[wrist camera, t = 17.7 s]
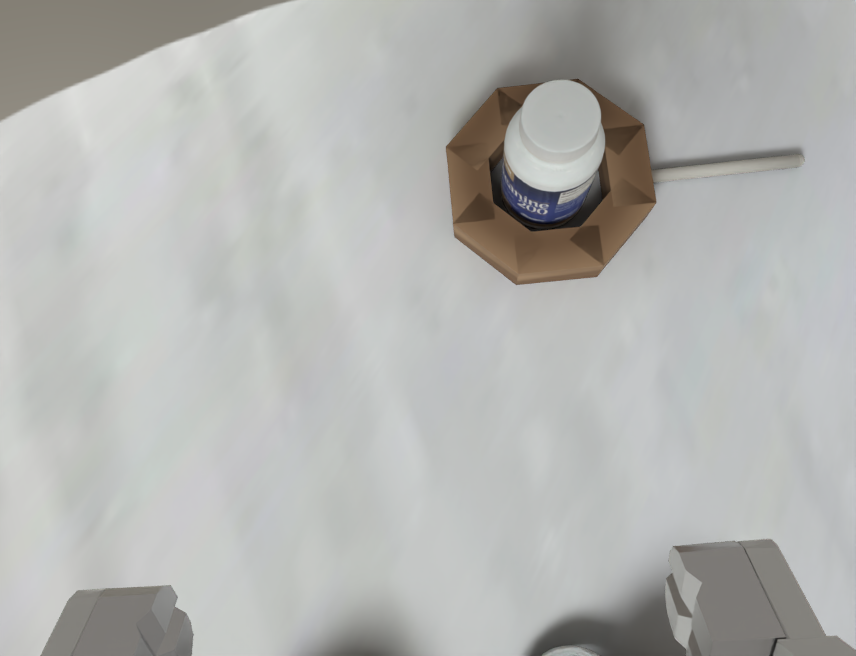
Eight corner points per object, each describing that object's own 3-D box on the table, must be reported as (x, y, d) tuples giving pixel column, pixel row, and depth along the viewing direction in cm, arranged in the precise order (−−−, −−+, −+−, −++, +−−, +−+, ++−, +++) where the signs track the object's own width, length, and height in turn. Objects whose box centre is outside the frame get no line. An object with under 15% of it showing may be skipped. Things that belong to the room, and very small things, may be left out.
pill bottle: (483, 186, 43) (484, 109, 34) (547, 136, 44) (567, 46, 34) (537, 248, 42) (554, 187, 33) (603, 196, 43) (638, 121, 33)
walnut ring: (459, 290, 42) (458, 280, 40) (443, 114, 45) (440, 94, 42) (654, 271, 42) (665, 259, 39) (627, 93, 44) (635, 71, 41)
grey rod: (642, 185, 43) (645, 180, 42) (641, 173, 43) (644, 168, 42) (802, 169, 42) (808, 163, 41) (799, 156, 42) (805, 151, 41)
